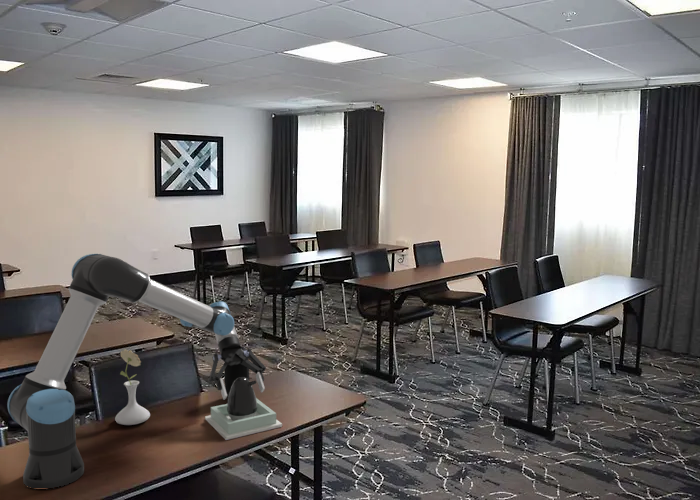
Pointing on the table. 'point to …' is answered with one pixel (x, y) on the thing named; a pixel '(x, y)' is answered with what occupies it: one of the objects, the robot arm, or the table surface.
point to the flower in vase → (131, 395)
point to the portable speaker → (234, 373)
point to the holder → (242, 421)
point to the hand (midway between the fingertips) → (244, 394)
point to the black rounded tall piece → (242, 399)
